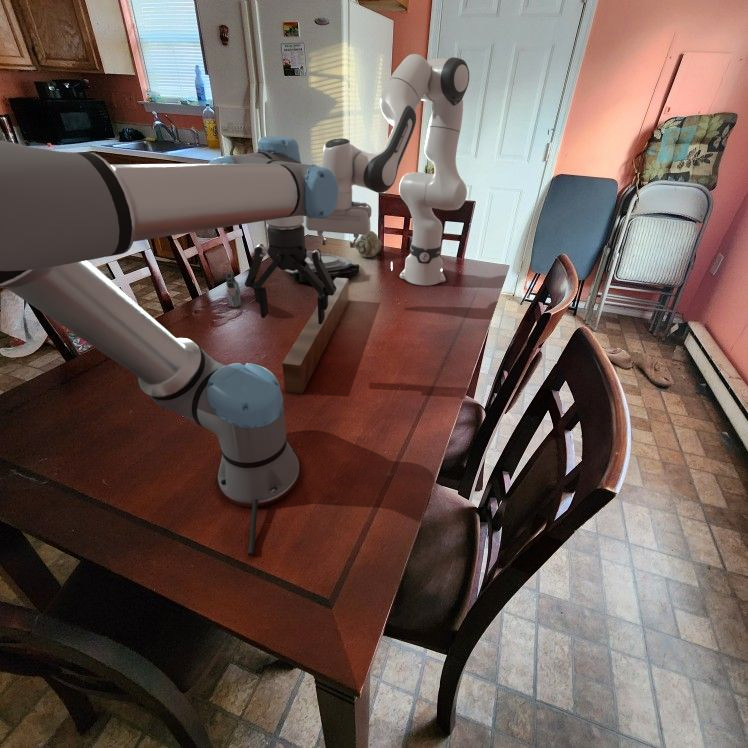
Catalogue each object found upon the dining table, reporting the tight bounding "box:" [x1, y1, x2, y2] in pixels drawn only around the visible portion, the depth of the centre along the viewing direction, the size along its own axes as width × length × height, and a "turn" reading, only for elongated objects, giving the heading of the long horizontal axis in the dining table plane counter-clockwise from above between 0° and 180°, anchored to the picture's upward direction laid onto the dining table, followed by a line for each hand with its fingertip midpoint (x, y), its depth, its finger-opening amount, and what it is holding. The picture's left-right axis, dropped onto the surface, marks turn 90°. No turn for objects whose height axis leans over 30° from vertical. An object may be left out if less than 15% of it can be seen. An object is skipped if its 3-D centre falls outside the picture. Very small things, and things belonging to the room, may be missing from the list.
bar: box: [281, 277, 350, 395], centre depth 124 cm, size 56×4×9 cm, turn 171°
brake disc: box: [284, 253, 360, 283], centre depth 170 cm, size 32×30×5 cm
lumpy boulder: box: [355, 230, 382, 258], centre depth 188 cm, size 11×11×15 cm
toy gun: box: [224, 272, 242, 308], centre depth 138 cm, size 4×19×10 cm
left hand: (293, 318), depth 96 cm, fingers open, 13 cm apart
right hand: (338, 246), depth 133 cm, fingers open, 8 cm apart
